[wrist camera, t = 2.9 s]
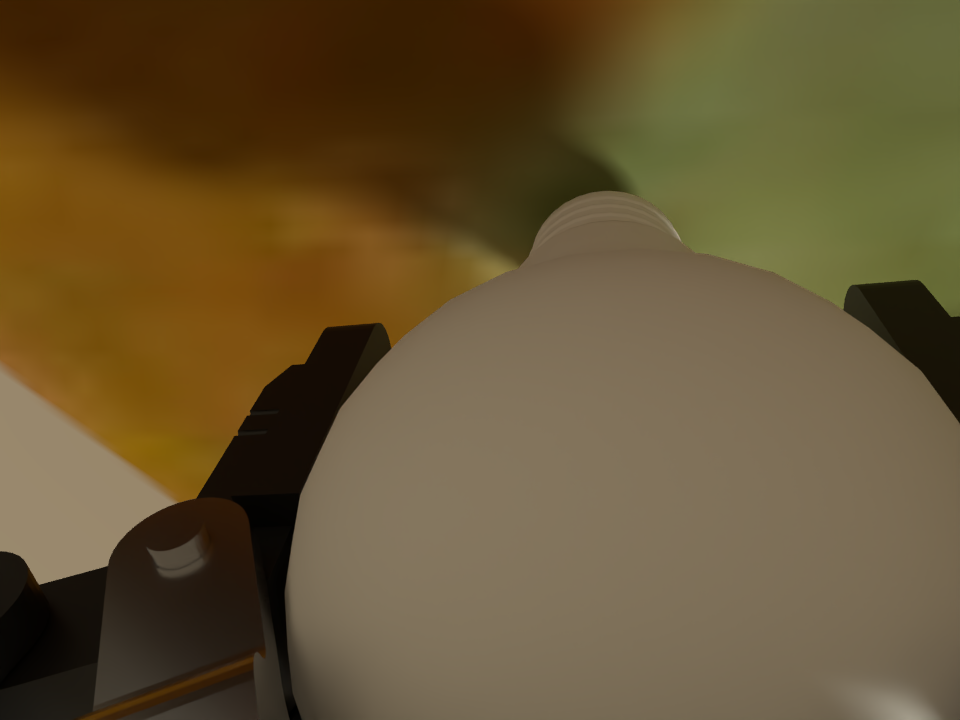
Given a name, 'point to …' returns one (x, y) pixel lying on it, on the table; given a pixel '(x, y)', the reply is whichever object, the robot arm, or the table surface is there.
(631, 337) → the lightbulb
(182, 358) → the table surface
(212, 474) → the robot arm
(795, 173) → the table surface
